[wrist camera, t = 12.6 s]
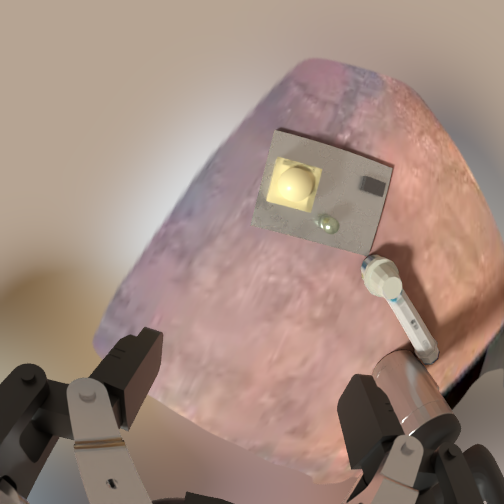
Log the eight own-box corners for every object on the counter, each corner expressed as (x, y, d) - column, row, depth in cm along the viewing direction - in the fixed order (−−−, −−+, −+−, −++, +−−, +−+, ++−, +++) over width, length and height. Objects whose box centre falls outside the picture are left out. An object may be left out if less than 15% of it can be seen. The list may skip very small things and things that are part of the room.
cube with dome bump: (313, 170, 34) (323, 168, 27) (303, 207, 35) (311, 213, 29) (275, 160, 34) (277, 156, 27) (266, 197, 35) (266, 201, 29)
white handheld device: (424, 372, 38) (370, 290, 31) (409, 350, 44) (351, 268, 37) (446, 353, 37) (401, 262, 30) (429, 333, 43) (378, 244, 36)
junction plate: (389, 168, 34) (409, 167, 28) (365, 254, 37) (381, 267, 31) (274, 131, 34) (276, 121, 28) (251, 224, 37) (248, 232, 31)
